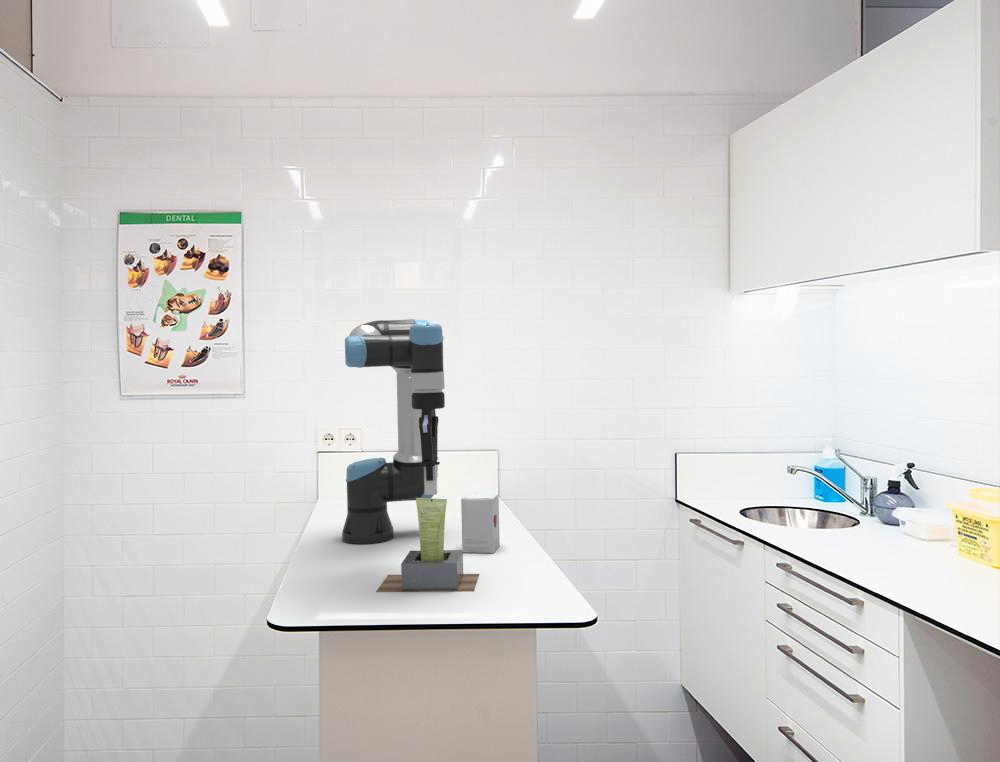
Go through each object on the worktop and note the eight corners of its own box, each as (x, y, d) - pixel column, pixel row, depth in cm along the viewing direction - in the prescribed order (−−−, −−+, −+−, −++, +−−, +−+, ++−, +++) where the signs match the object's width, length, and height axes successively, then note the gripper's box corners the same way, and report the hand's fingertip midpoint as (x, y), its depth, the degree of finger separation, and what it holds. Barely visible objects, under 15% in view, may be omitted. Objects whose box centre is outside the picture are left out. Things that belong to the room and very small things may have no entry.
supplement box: (494, 553, 213) (492, 498, 212) (461, 553, 214) (460, 498, 214) (500, 545, 221) (499, 492, 221) (469, 545, 223) (468, 492, 223)
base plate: (388, 579, 190) (388, 574, 190) (479, 578, 189) (479, 573, 189) (375, 597, 176) (375, 592, 176) (474, 596, 175) (473, 591, 175)
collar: (411, 575, 189) (410, 550, 189) (463, 575, 188) (462, 550, 188) (401, 590, 177) (401, 563, 177) (457, 589, 176) (456, 563, 176)
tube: (440, 577, 186) (438, 495, 185) (449, 583, 182) (446, 498, 181) (418, 581, 184) (415, 497, 183) (426, 586, 179) (423, 501, 178)
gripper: (416, 390, 188) (419, 489, 188) (406, 393, 175) (409, 499, 175) (447, 389, 187) (450, 489, 188) (440, 392, 174) (443, 498, 175)
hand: (431, 494), depth 182 cm, fingers closed
